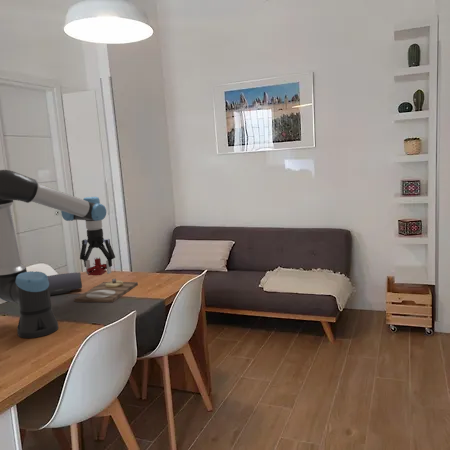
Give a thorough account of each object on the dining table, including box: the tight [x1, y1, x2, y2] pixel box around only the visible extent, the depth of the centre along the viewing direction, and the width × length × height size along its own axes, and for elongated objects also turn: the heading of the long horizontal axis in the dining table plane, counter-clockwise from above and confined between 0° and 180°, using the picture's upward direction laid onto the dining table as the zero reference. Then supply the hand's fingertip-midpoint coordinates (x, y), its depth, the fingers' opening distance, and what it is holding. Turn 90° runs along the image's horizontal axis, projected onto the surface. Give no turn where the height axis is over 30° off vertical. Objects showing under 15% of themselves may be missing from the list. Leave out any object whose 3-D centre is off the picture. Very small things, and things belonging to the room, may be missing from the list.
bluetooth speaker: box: [47, 272, 83, 296], centre depth 233 cm, size 23×9×10 cm, turn 111°
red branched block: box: [86, 256, 107, 276], centre depth 220 cm, size 11×12×8 cm
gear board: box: [73, 278, 139, 303], centre depth 229 cm, size 30×20×5 cm, turn 168°
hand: (99, 273), depth 221 cm, fingers closed on red branched block, 10 cm apart
